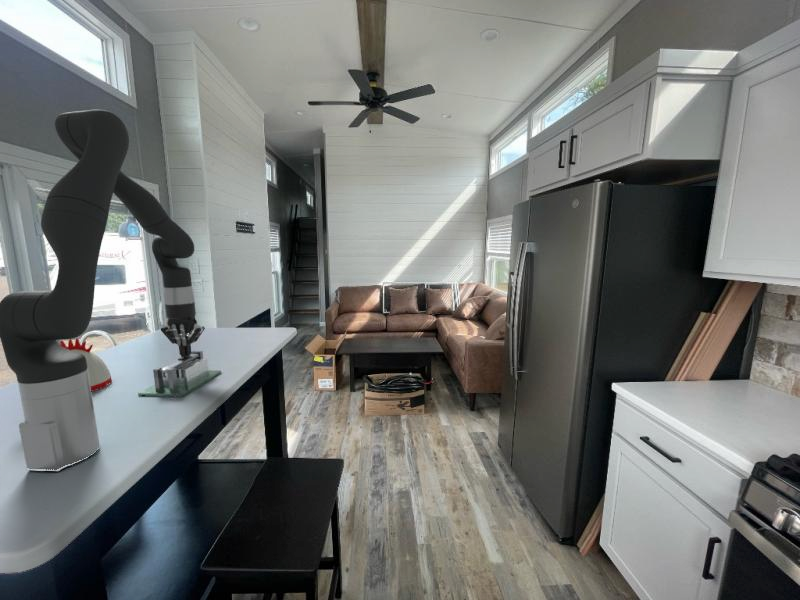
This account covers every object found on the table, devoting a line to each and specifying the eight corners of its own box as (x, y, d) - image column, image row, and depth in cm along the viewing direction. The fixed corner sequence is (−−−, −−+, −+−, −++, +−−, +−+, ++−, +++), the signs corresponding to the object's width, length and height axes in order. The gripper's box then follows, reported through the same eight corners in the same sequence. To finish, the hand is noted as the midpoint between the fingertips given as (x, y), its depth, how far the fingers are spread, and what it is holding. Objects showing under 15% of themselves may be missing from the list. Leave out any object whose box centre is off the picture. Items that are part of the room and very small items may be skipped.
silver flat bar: (168, 373, 93) (167, 369, 92) (158, 373, 93) (158, 368, 93) (199, 356, 106) (198, 352, 105) (190, 356, 106) (190, 352, 106)
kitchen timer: (60, 383, 101) (52, 336, 99) (117, 375, 107) (111, 331, 105) (37, 401, 89) (27, 348, 87) (103, 391, 95) (95, 341, 93)
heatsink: (182, 396, 91) (179, 370, 90) (138, 395, 92) (134, 369, 91) (221, 372, 109) (219, 350, 108) (183, 372, 110) (181, 349, 109)
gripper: (148, 303, 96) (156, 360, 98) (192, 303, 95) (198, 360, 97) (168, 299, 103) (174, 352, 106) (208, 299, 102) (214, 352, 105)
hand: (186, 356), depth 102 cm, fingers closed
